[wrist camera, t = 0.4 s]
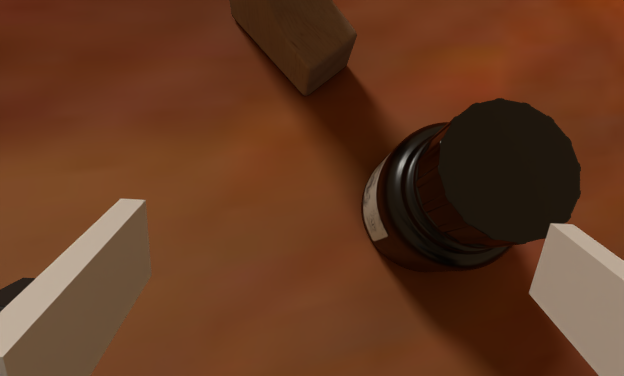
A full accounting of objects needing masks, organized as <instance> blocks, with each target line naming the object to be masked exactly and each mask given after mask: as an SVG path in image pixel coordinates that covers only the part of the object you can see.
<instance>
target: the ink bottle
mask: <svg viewBox="0 0 624 376" xmlns="http://www.w3.org/2000/svg"><path fill="white" fill-rule="evenodd" d="M580 171H581V167H580V164H579V163H578V161H577V158H576V155H575V152H574V150H573V147H572V143H571V140H570V139H569V138H568V137H567V136H566V135H565V134H564V133H563V132H562V130H561V129H560V128H559V127H558V126H557V125H556V123H555V122H554V120H553V119H552V118H551V117H550V116H546V115H545V114H543V113H542V112H540V111H538V110H536V109H535V108H533V107H531V105H529V104H527V103H520V102H515V101H509V100H504V99H502V98H498V99H495V100H492V101H487V102H482V103H475V104H472V105H471V106H470V107H469V108H467V109H466V110H465V111H464V112H462V113H461V114H460V115H459V116H456V117H454V118H453V119H452V120H451V121H450V122H443V123H436V124H432V125H428V126H426V127H423V128H421V129H419V130H417V131H415V132H413V133H412V134H410V135H409V136H408V137H406V138H405V139H404V140H403V141H402V142H401V143H400V144H399V145H398V146H397V147H396V148H395V149H394V150H393V151H392V152H391V153H390V154H389V155H388V156H387V157H386V158H385V159H384V160H383V161H382V162H381V163H380V165H379V166H378V167H377V168H376V169H375V170H374V172H373V173H372V174H371V176H370V178H369V179H368V181H367V184H366V186H365V189H364V192H363V196H362V202H361V214H362V220H363V224H364V227H365V229H366V232H367V234H368V236H369V238H370V239H371V241H372V242H373V244H374V245H375V246H376V247H377V249H378V250H379V251H380V252H381V253H382V254H383V255H385V256H386V257H387V258H388V259H390V260H391V261H393V262H394V263H396V264H398V265H400V266H402V267H404V268H407V269H410V270H414V271H419V272H445V271H467V270H473V269H478V268H481V267H484V266H486V265H489V264H491V263H493V262H494V261H496V260H497V259H499V258H500V257H502V256H503V255H504V254H505V253H506V252H507V251H508V250H509V249H510V248H511V247H512V246H513V245H520V244H525V243H526V242H530V241H534V240H538V239H544V238H546V236H547V233H548V230H549V227H550V224H551V223H555V224H564V223H566V222H568V221H569V219H570V218H571V213H572V211H573V209H574V207H575V205H576V202H577V200H578V199H579V197H580V194H581V191H580Z"/></svg>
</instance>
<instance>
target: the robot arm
mask: <svg viewBox="0 0 624 376" xmlns="http://www.w3.org/2000/svg"><path fill="white" fill-rule="evenodd" d="M150 277H151V263H150V250H149V237H148V224H147V212H146V200H135V199H120V200H119V201H118V202H117V203H116V204H115V205H113V206H112V207H111V208H110V209H109V210H108V211H107V212H106V213H105V214H104V215H103V216H102V217H101V218H100V219H99V220H98V221H96V222H95V223H94V224H93V225H92V226H91V227H90V228H89V229H88V230H87V231H86V232H85V233H84V234H83V235H82V236H81V237H79V238H78V239H77V240H76V241H75V242H74V243H73V244H72V245H71V246H70V247H69V248H68V249H67V250H66V251H65V252H63V253H62V254H61V255H60V256H59V257H58V258H57V259H56V260H55V261H54V262H53V263H52V264H51V265H50V266H49V267H48V268H46V269H45V270H44V271H43V272H42V273H41V274H40V275H39V276H38V277H37V278H22V279H20V280H18V281H16V282H14V283H12V284H10V285H8V286H6V287H5V288H3V289H1V290H0V376H90V375H91V373H92V372H93V370H94V368H95V367H96V365H97V364H98V362H99V360H100V359H101V357H102V355H103V354H104V352H105V350H106V349H107V347H108V346H109V344H110V342H111V341H112V339H113V337H114V336H115V334H116V332H117V331H118V329H119V328H120V326H121V324H122V323H123V321H124V319H125V318H126V316H127V314H128V313H129V311H130V309H131V308H132V306H133V305H134V303H135V301H136V300H137V298H138V296H139V295H140V293H141V291H142V290H143V288H144V287H145V285H146V283H147V282H148V280H149V278H150ZM529 294H530V296H531V297H532V298H533V299H534V300H535V301H536V303H537V304H538V305H539V306H540V307H541V308H542V310H543V311H544V312H545V313H546V314H547V315H548V317H549V318H550V319H551V320H552V321H553V322H554V324H555V325H556V326H557V327H558V328H559V329H560V331H561V332H562V333H563V334H564V335H565V336H566V338H567V339H568V340H569V341H570V342H571V343H572V345H573V346H574V347H575V348H576V349H577V350H578V352H579V353H580V354H581V355H582V356H583V357H584V359H585V360H586V361H587V362H588V363H589V365H590V366H591V367H592V368H593V369H594V370H595V372H596V373H597V374H598V375H599V376H624V261H623V260H621V259H620V258H619V257H617V256H616V255H615V254H613V253H612V252H610V251H609V250H608V249H606V248H605V247H603V246H602V245H601V244H599V243H598V242H597V241H595V240H594V239H592V238H591V237H590V236H588V235H587V234H586V233H584V232H583V231H581V230H580V229H579V228H577V227H576V226H574V225H573V224H555V223H551V224H550V227H549V230H548V233H547V236H546V240H545V243H544V246H543V249H542V253H541V256H540V259H539V262H538V265H537V269H536V272H535V275H534V278H533V281H532V285H531V288H530V291H529Z"/></svg>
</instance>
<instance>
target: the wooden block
mask: <svg viewBox="0 0 624 376" xmlns="http://www.w3.org/2000/svg"><path fill="white" fill-rule="evenodd" d="M229 1H230V7H231V13H232V16H233V17H234V19H235V20H236V21H237V22H238V23H239V24H240V25H241V26H242V27H243V29H244V30H245V31H246V32H247V33H248V34H249V35H250V36H251V38H252V39H253V40H254V41H255V42H256V43H257V44H258V45H259V46H260V48H261V49H262V50H263V51H264V52H265V53H266V54H267V55H268V57H269V58H270V59H271V60H272V61H273V62H274V63H275V64H276V65H277V67H278V68H279V69H280V70H281V71H282V72H283V73H284V74H285V75H286V77H287V78H288V79H289V80H290V81H291V82H292V83H293V84H294V85H295V87H296V88H297V89H298V90H299V91H300V92H301V93H302V94H303V95H305V96H306V95H309V94H311V93H312V92H313V91H315V90H316V89H317V88H318V87H320V86H321V85H322V84H324V83H325V82H326V81H327V80H329V79H330V78H331V77H333V76H334V75H335V74H337V73H338V72H339V71H340V70H342V69H343V68H344V67H346V65H347V63H348V60H349V57H350V54H351V51H352V48H353V45H354V42H355V40H356V37H357V34H356V31H355V30H354V28H353V27H352V26H351V24H350V23H349V22H348V21H347V19H346V18H345V17H344V15H343V14H342V13H341V12H340V10H339V9H338V8H337V6H336V5H335V4H334V2H333V1H332V0H229Z"/></svg>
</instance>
